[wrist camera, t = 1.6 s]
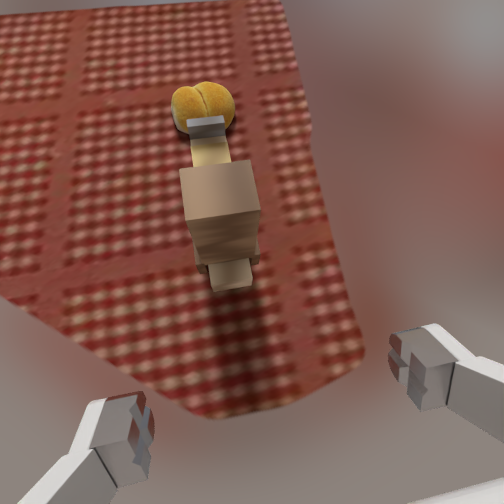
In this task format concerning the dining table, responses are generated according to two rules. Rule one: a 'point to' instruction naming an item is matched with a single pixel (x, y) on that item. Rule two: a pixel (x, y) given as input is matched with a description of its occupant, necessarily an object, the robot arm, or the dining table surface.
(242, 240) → the plate
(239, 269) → the seesaw
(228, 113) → the bread roll
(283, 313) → the dining table surface
